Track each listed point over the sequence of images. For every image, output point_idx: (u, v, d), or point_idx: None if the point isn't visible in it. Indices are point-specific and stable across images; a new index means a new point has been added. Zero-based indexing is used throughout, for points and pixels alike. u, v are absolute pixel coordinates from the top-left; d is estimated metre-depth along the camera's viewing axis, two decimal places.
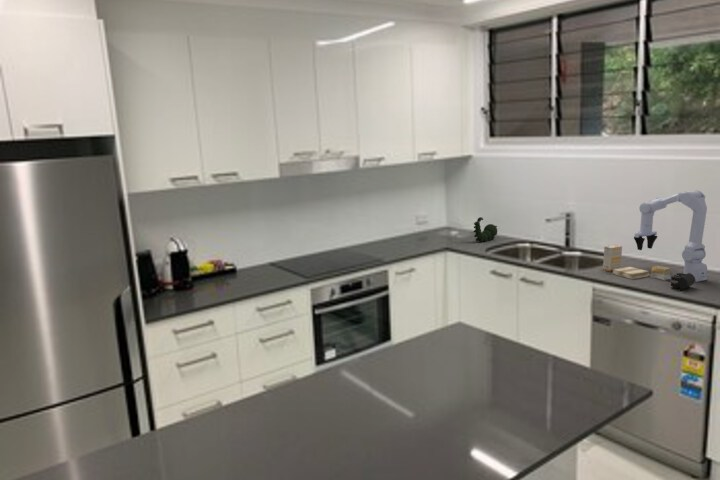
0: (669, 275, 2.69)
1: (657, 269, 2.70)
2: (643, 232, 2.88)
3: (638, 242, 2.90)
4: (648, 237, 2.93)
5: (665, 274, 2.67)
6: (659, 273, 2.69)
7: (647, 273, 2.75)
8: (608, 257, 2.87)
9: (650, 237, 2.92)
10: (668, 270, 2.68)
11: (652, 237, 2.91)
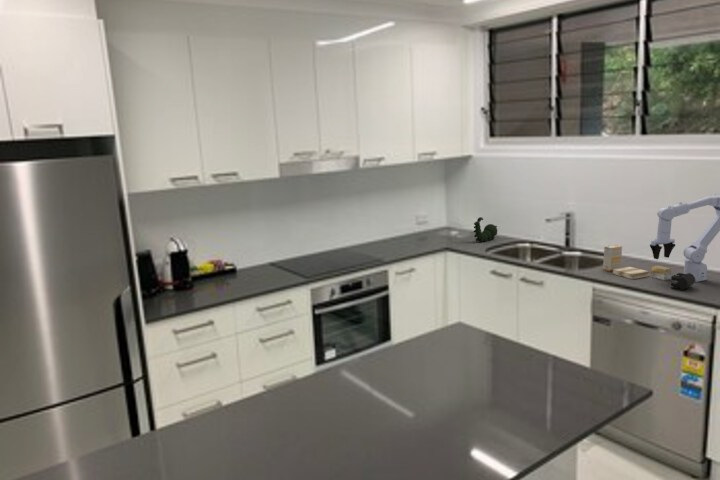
0: (669, 275, 2.69)
1: (657, 269, 2.70)
2: (660, 240, 2.66)
3: (654, 250, 2.68)
4: (665, 245, 2.71)
5: (665, 274, 2.67)
6: (659, 273, 2.69)
7: (647, 273, 2.75)
8: (608, 257, 2.87)
9: (667, 245, 2.70)
10: (668, 270, 2.68)
11: (670, 245, 2.69)
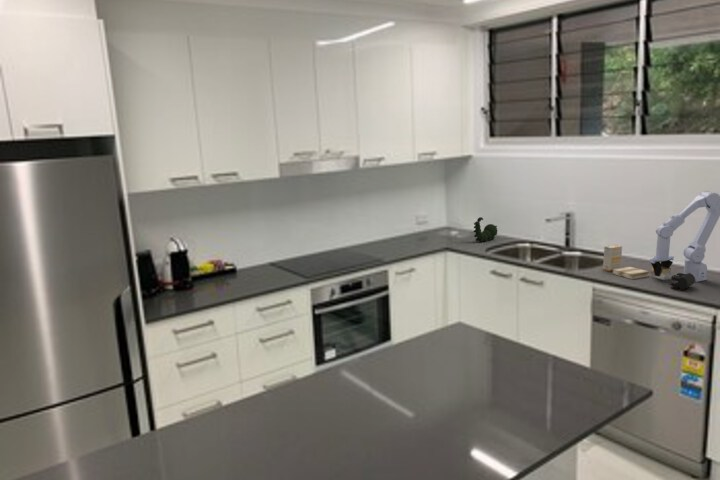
0: (669, 275, 2.68)
1: None
2: (659, 257, 2.68)
3: (655, 268, 2.70)
4: (663, 262, 2.72)
5: (665, 274, 2.67)
6: None
7: (647, 273, 2.75)
8: (608, 257, 2.87)
9: (665, 263, 2.71)
10: (668, 270, 2.68)
11: (667, 263, 2.70)
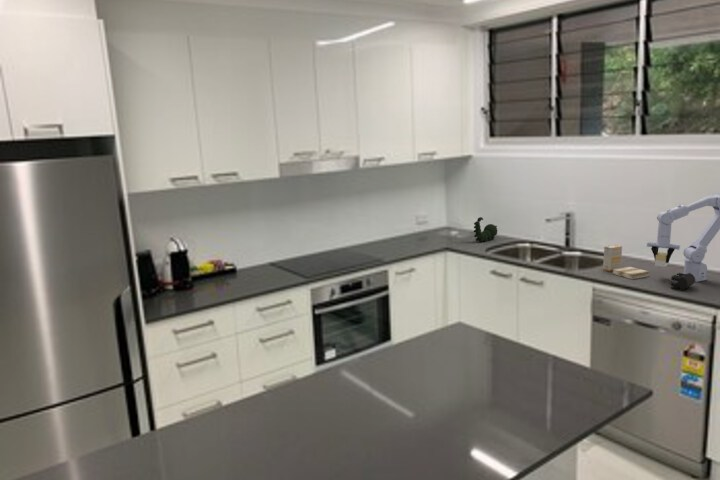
0: (663, 262, 2.66)
1: None
2: None
3: None
4: None
5: (657, 260, 2.68)
6: None
7: (647, 273, 2.75)
8: (608, 257, 2.87)
9: None
10: (662, 257, 2.66)
11: None
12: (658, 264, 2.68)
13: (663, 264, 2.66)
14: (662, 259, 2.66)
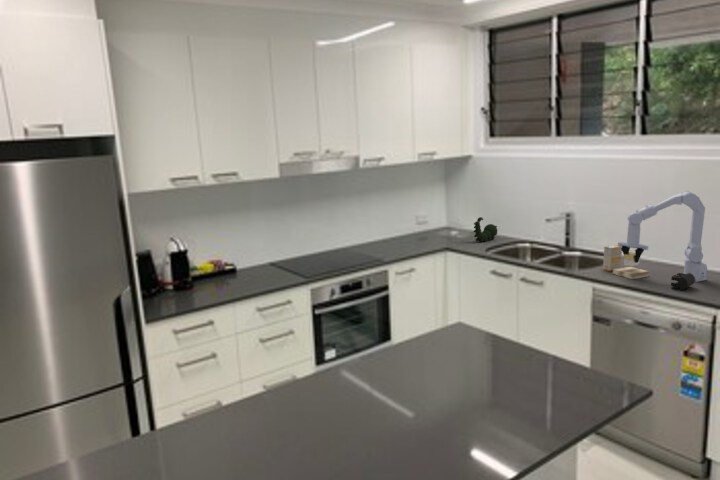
0: (631, 262, 2.74)
1: None
2: None
3: None
4: None
5: (625, 259, 2.76)
6: None
7: (647, 273, 2.75)
8: (608, 257, 2.87)
9: None
10: (630, 256, 2.74)
11: None
12: (626, 263, 2.75)
13: (631, 263, 2.74)
14: (630, 259, 2.74)
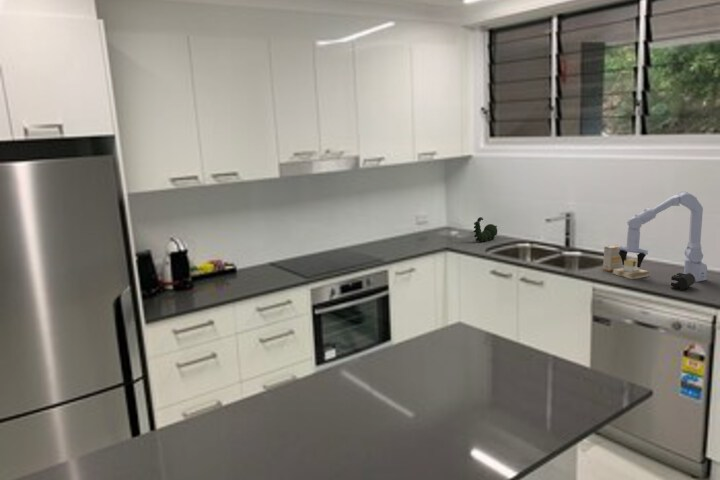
0: (630, 268, 2.74)
1: None
2: (626, 247, 2.77)
3: None
4: None
5: (625, 265, 2.76)
6: None
7: (647, 273, 2.75)
8: (608, 257, 2.87)
9: None
10: (629, 262, 2.74)
11: None
12: (626, 269, 2.76)
13: (630, 270, 2.74)
14: (630, 265, 2.74)
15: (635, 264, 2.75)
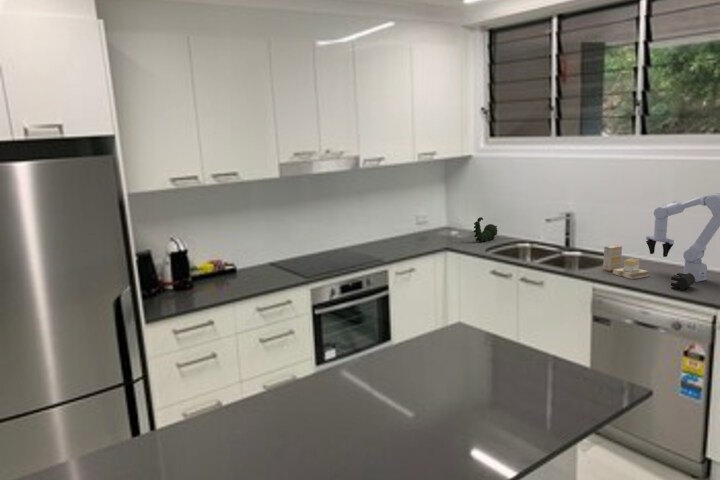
0: (630, 268, 2.74)
1: None
2: None
3: None
4: None
5: (625, 265, 2.76)
6: None
7: (647, 273, 2.75)
8: (608, 257, 2.87)
9: None
10: (629, 262, 2.74)
11: None
12: (626, 269, 2.76)
13: (630, 270, 2.74)
14: (630, 265, 2.74)
15: (635, 264, 2.75)
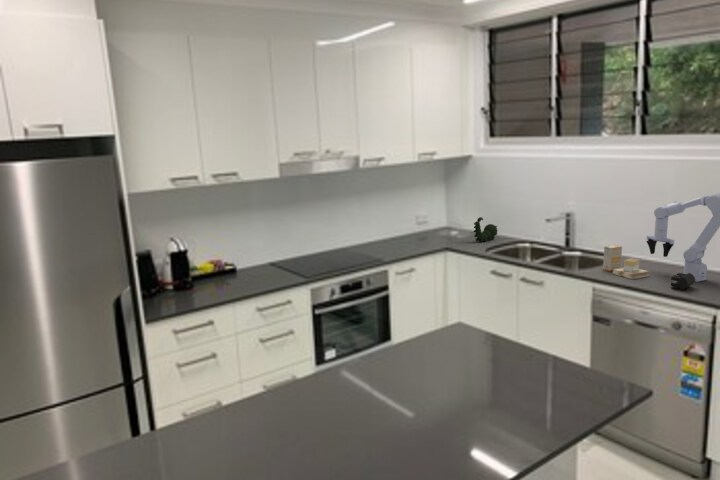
0: (630, 268, 2.74)
1: None
2: None
3: None
4: None
5: (625, 265, 2.76)
6: None
7: (647, 273, 2.75)
8: (608, 257, 2.87)
9: None
10: (629, 262, 2.74)
11: None
12: (626, 269, 2.76)
13: (630, 270, 2.74)
14: (630, 265, 2.74)
15: (635, 264, 2.75)
